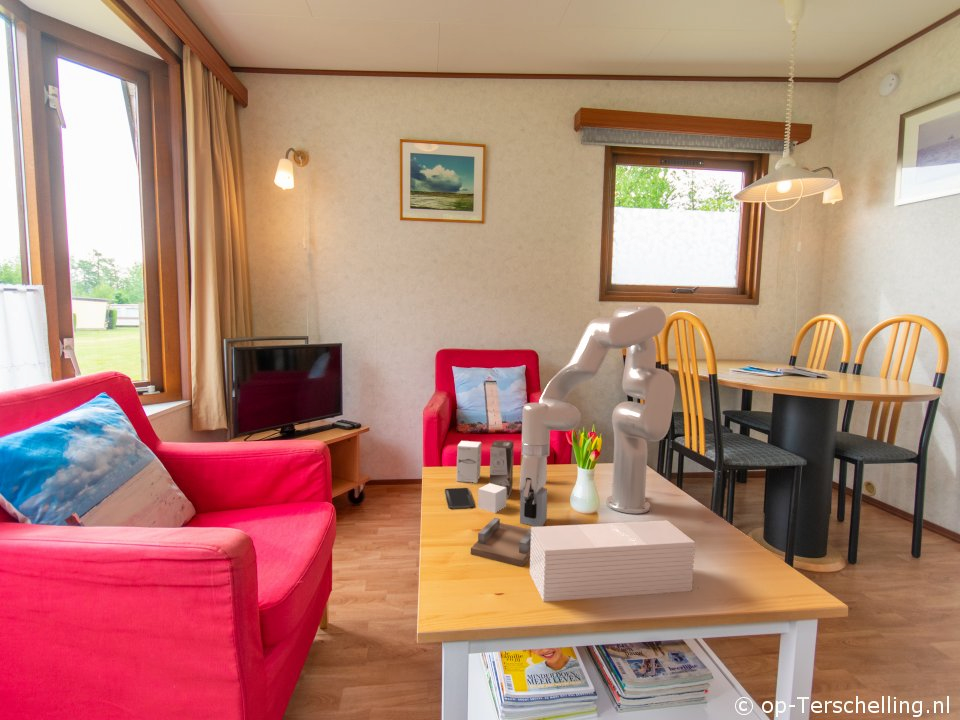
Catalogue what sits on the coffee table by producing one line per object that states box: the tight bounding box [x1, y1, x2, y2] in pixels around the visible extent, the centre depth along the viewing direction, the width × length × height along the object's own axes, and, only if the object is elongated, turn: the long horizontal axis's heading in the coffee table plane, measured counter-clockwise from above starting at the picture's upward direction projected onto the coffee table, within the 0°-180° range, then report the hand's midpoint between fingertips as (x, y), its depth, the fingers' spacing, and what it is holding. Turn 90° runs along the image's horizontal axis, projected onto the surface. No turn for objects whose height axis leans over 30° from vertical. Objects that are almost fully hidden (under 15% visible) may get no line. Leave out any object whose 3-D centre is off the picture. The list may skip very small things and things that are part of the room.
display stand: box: [470, 517, 537, 568], centre depth 117 cm, size 16×13×4 cm
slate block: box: [519, 487, 548, 527], centre depth 131 cm, size 5×6×9 cm
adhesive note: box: [477, 482, 507, 514], centre depth 141 cm, size 6×6×6 cm
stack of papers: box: [529, 519, 696, 602], centre depth 102 cm, size 32×11×11 cm, turn 99°
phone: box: [444, 487, 476, 510], centre depth 147 cm, size 8×1×15 cm
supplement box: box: [456, 440, 482, 484], centre depth 165 cm, size 7×7×13 cm
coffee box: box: [489, 440, 514, 500], centre depth 152 cm, size 9×6×16 cm
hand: (533, 512), depth 131 cm, fingers closed on slate block, 4 cm apart
